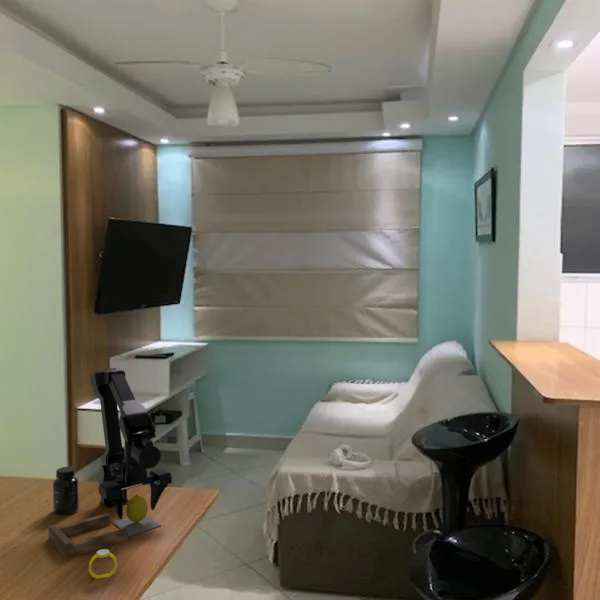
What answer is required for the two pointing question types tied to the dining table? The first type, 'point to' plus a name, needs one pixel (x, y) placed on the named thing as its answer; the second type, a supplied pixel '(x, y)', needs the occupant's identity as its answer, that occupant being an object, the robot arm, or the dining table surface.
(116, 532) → the shelf lane
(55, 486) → the supplement bottle
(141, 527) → the mat
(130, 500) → the lemon
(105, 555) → the watch
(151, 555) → the dining table surface
